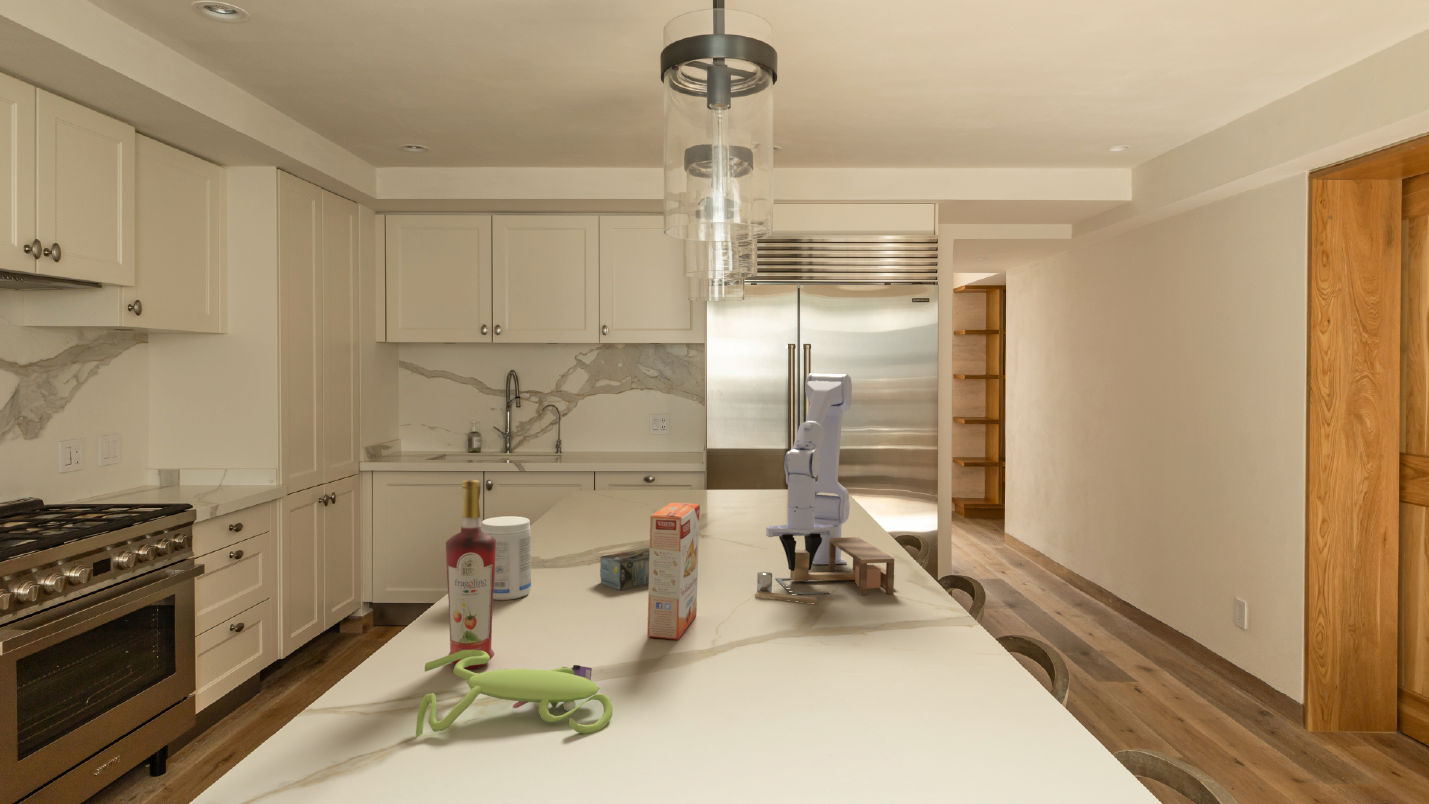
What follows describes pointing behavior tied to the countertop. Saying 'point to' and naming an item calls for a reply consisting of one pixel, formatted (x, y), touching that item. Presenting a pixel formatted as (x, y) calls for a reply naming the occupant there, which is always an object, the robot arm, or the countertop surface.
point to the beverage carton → (625, 569)
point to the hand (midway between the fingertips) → (799, 569)
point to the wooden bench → (862, 559)
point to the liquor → (470, 579)
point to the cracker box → (673, 569)
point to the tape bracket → (792, 590)
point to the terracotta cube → (870, 576)
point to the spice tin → (764, 581)
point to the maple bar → (785, 597)
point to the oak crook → (803, 572)
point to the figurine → (518, 690)
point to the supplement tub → (510, 555)
